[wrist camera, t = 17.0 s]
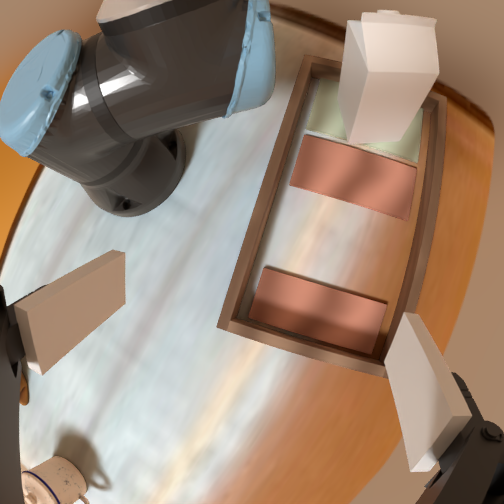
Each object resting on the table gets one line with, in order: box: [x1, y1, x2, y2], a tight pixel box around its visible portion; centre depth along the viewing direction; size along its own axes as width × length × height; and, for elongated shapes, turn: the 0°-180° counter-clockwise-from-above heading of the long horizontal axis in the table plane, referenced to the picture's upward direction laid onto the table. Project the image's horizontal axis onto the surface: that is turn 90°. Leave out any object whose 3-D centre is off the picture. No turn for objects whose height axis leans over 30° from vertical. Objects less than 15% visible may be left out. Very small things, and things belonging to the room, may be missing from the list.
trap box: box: [217, 55, 447, 379], centre depth 35 cm, size 20×36×4 cm, turn 162°
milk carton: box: [337, 10, 439, 144], centre depth 27 cm, size 7×7×19 cm
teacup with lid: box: [21, 456, 89, 504], centre depth 31 cm, size 12×9×12 cm
